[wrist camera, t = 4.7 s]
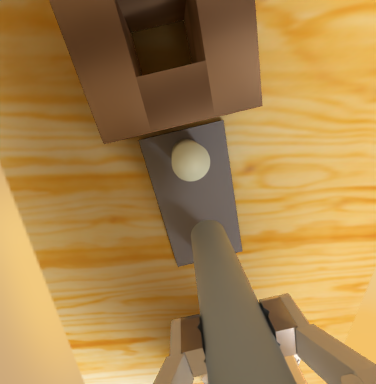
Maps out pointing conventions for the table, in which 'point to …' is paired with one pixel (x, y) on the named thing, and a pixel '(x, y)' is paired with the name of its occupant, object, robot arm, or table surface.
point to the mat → (193, 188)
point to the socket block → (168, 79)
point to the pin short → (190, 160)
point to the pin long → (232, 315)
